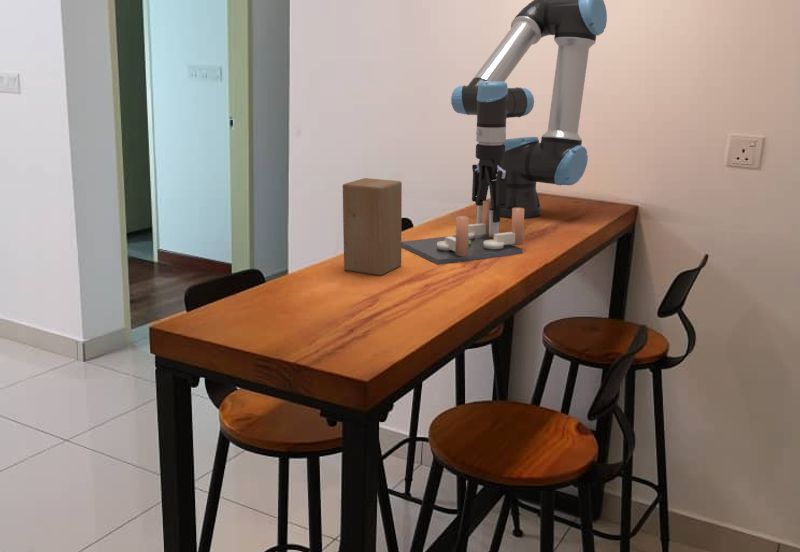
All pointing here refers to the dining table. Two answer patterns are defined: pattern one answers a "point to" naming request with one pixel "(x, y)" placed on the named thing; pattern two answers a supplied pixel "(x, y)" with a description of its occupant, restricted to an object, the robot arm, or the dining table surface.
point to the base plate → (475, 251)
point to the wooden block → (372, 225)
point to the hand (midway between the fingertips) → (487, 231)
